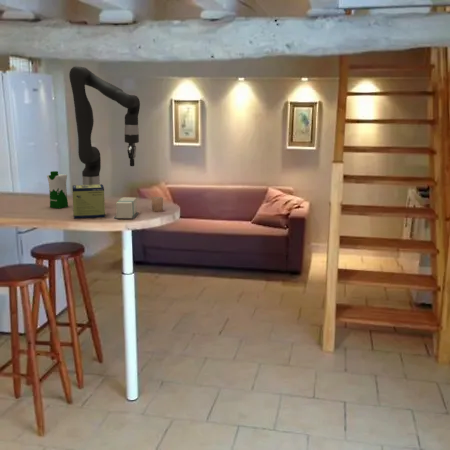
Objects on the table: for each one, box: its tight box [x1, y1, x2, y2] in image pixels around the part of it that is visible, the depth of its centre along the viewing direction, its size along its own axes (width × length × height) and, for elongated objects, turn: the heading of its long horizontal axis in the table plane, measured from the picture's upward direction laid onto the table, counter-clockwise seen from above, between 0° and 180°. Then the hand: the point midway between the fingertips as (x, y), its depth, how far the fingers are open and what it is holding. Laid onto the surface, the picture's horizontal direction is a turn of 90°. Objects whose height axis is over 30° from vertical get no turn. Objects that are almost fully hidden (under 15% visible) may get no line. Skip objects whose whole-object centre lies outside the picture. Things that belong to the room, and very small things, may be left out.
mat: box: [113, 211, 139, 220], centre depth 273 cm, size 10×14×1 cm
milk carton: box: [46, 170, 69, 209], centre depth 294 cm, size 9×9×20 cm
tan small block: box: [151, 196, 164, 213], centre depth 286 cm, size 6×6×7 cm
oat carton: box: [115, 197, 138, 218], centre depth 272 cm, size 8×8×17 cm
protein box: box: [72, 183, 106, 220], centre depth 270 cm, size 10×16×16 cm
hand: (132, 166), depth 286 cm, fingers closed
